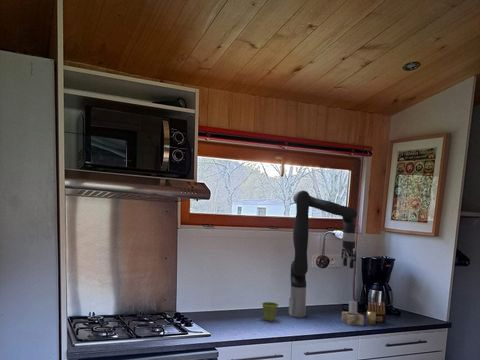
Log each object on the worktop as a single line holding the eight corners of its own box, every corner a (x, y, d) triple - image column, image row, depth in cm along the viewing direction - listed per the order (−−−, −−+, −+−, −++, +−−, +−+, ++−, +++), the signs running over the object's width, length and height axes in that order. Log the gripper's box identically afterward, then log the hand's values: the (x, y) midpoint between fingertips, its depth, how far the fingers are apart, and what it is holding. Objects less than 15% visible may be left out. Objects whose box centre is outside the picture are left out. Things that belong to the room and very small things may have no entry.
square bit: (351, 323, 214) (351, 302, 215) (348, 321, 218) (349, 300, 219) (356, 323, 215) (357, 302, 216) (354, 321, 218) (354, 300, 219)
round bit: (370, 325, 212) (370, 313, 213) (364, 323, 217) (364, 310, 217) (377, 325, 214) (377, 312, 214) (372, 322, 218) (372, 310, 219)
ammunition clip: (384, 322, 221) (384, 301, 222) (385, 323, 219) (386, 302, 220) (366, 321, 220) (367, 301, 221) (368, 322, 218) (368, 301, 219)
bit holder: (348, 325, 211) (349, 316, 212) (341, 320, 220) (341, 311, 220) (363, 325, 213) (363, 316, 213) (355, 320, 222) (356, 311, 222)
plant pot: (280, 321, 212) (281, 305, 213) (266, 322, 208) (267, 306, 209) (272, 316, 221) (272, 301, 222) (258, 317, 217) (258, 302, 217)
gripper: (338, 239, 237) (337, 265, 236) (348, 241, 224) (347, 268, 222) (349, 239, 239) (348, 265, 238) (360, 241, 225) (359, 269, 224)
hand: (348, 267), depth 230 cm, fingers open, 8 cm apart
